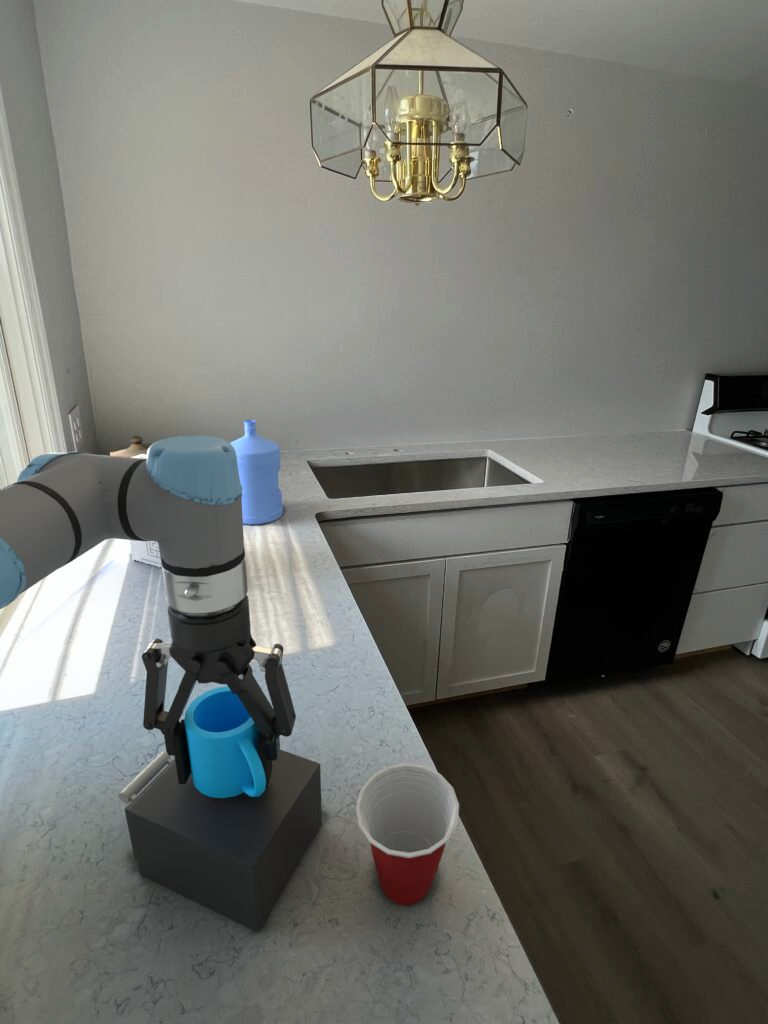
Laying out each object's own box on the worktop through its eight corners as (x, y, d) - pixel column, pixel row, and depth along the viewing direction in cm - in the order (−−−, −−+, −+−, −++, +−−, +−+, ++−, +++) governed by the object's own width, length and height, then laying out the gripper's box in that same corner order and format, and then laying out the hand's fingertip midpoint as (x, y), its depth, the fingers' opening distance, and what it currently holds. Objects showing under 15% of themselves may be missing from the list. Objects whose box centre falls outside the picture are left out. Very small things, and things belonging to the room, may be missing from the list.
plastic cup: (335, 879, 63) (334, 801, 58) (402, 821, 70) (405, 747, 65) (405, 957, 55) (410, 874, 51) (471, 883, 63) (480, 804, 58)
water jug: (257, 530, 153) (250, 430, 143) (217, 518, 161) (208, 422, 151) (294, 513, 166) (290, 420, 156) (255, 502, 173) (249, 413, 163)
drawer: (105, 846, 65) (94, 795, 62) (181, 767, 76) (174, 721, 73) (241, 911, 58) (235, 858, 55) (302, 815, 69) (300, 766, 66)
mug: (180, 763, 64) (172, 706, 61) (245, 730, 69) (240, 676, 66) (227, 837, 55) (221, 775, 52) (298, 794, 60) (295, 735, 57)
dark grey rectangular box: (139, 874, 63) (126, 810, 59) (217, 782, 75) (210, 724, 71) (258, 932, 57) (252, 866, 54) (322, 823, 69) (320, 763, 66)
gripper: (79, 614, 50) (116, 799, 59) (310, 624, 50) (315, 810, 58) (119, 575, 57) (147, 746, 66) (322, 584, 57) (325, 755, 65)
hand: (226, 776), depth 62 cm, fingers closed on mug, 8 cm apart
